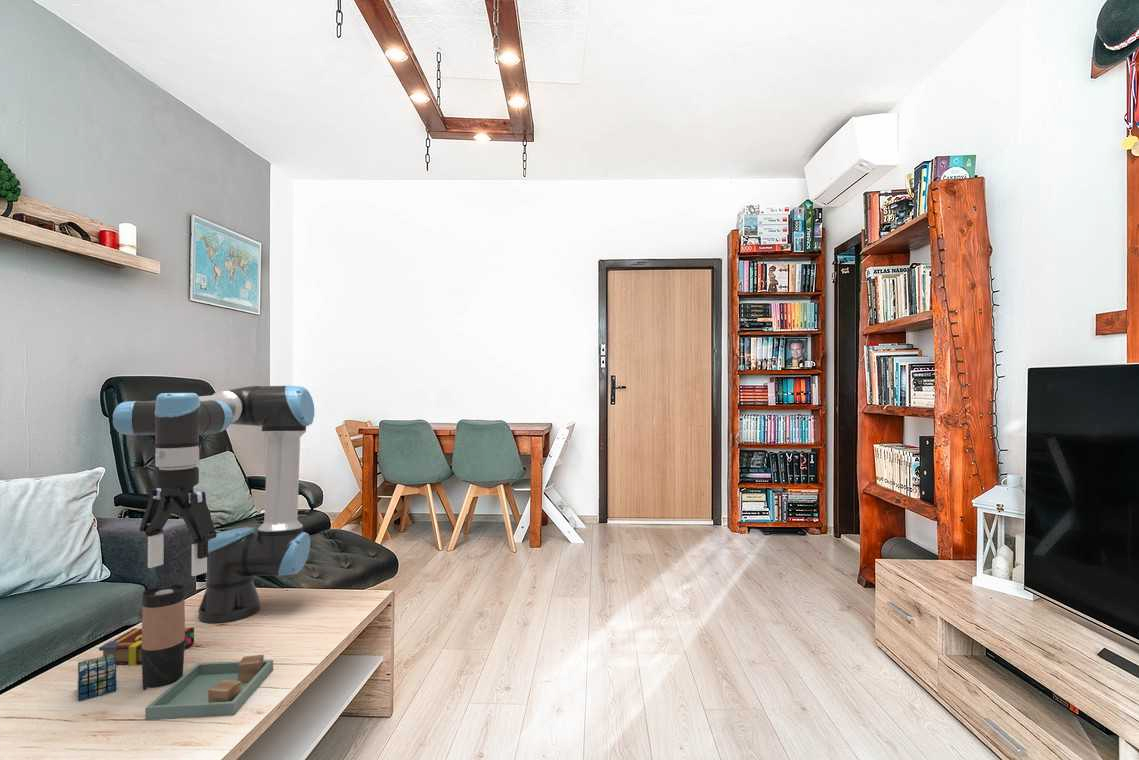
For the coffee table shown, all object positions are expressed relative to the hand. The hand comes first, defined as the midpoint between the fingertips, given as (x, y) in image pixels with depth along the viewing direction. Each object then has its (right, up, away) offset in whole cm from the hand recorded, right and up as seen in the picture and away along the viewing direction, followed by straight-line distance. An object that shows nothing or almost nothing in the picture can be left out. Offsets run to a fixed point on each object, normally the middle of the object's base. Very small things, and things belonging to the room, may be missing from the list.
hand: (177, 570), depth 119 cm
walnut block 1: (+13, -25, -5) cm, 29 cm away
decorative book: (-19, -27, +19) cm, 38 cm away
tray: (+8, -26, 0) cm, 27 cm away
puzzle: (-19, -27, +2) cm, 32 cm away
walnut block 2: (+12, -25, +6) cm, 29 cm away
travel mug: (-7, -26, +6) cm, 28 cm away
